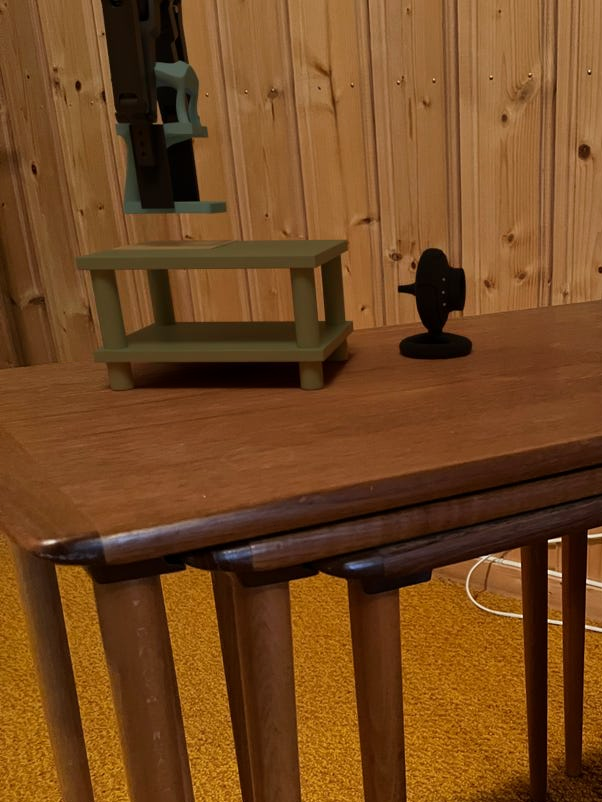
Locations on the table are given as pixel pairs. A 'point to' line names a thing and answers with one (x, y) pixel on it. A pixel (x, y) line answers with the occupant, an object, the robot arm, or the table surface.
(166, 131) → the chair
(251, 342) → the shelf
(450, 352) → the webcam
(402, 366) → the table surface
